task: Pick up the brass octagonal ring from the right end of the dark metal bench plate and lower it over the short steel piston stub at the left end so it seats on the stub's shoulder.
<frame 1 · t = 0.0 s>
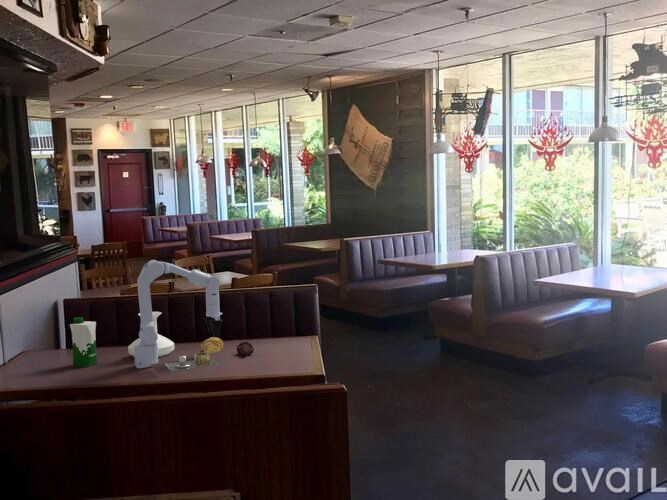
hand: (213, 334, 296), 10 cm above the table, tool pointing down, fingers open, 7 cm apart
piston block: (192, 367, 280), on the table
milk carton: (85, 365, 290), on the table
candle holder: (151, 357, 302), on the table
croissant: (212, 352, 309), on the table
ring: (202, 361, 285), point 1 cm above the table, touching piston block
icecream: (245, 357, 297), on the table
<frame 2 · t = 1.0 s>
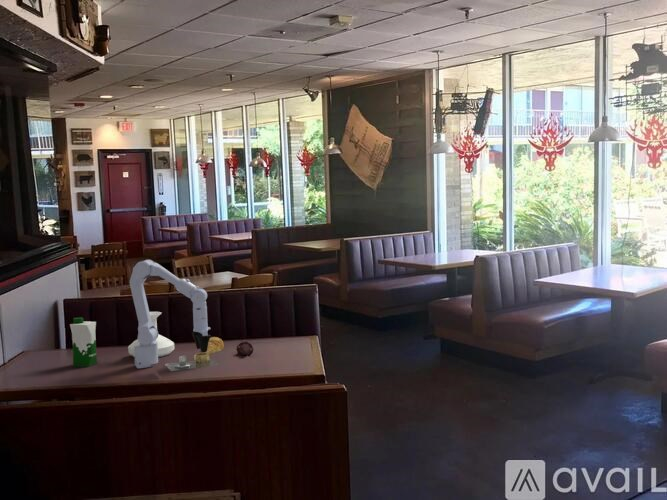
hand: (201, 350, 285), 6 cm above the table, tool pointing down, fingers open, 7 cm apart
nothing on the table moved.
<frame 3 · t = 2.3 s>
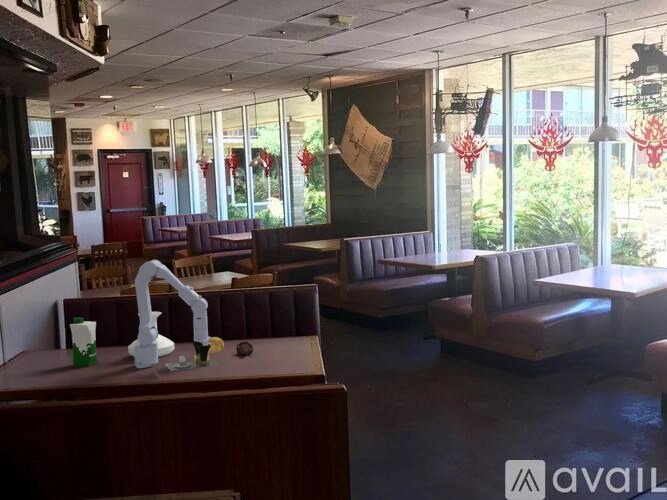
hand: (202, 359, 285), 2 cm above the table, tool pointing down, fingers closed on ring, 6 cm apart
ring: (202, 361, 285), point 1 cm above the table, touching gripper, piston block
everything else where it was.
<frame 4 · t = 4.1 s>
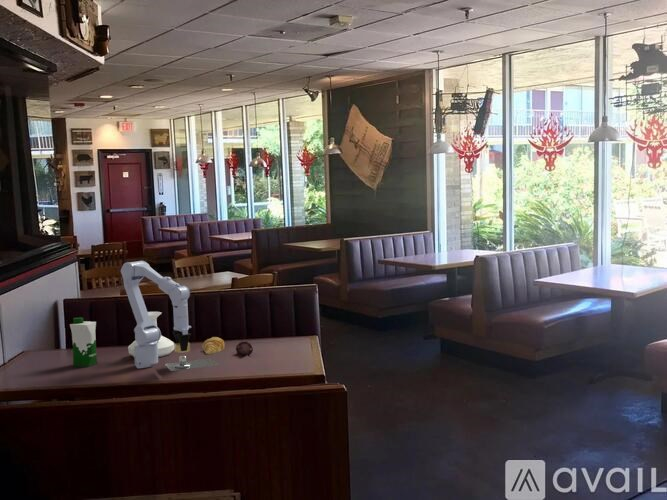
hand: (182, 349, 277), 8 cm above the table, tool pointing down, fingers closed on ring, 6 cm apart
ring: (182, 351, 277), point 7 cm above the table, touching gripper
everything else where it was.
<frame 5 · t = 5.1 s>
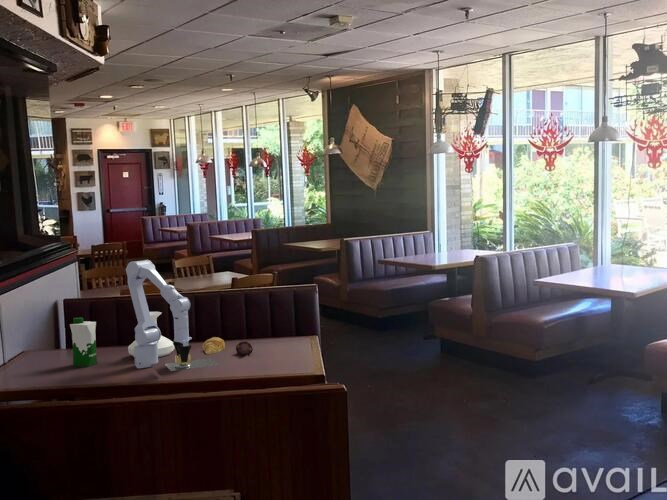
hand: (182, 360, 277), 3 cm above the table, tool pointing down, fingers closed on ring, 6 cm apart
ring: (183, 362, 277), point 3 cm above the table, touching gripper
everything else where it was.
when the fingers open (3 cm above the table, at t = 6.0 s): ring drops 1 cm, resting on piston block.
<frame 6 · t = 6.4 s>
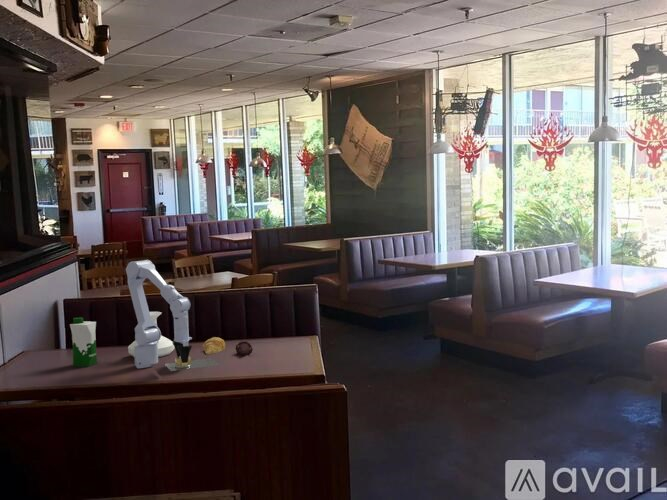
hand: (182, 360, 277), 3 cm above the table, tool pointing down, fingers open, 7 cm apart
ring: (183, 364, 277), point 2 cm above the table, touching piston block
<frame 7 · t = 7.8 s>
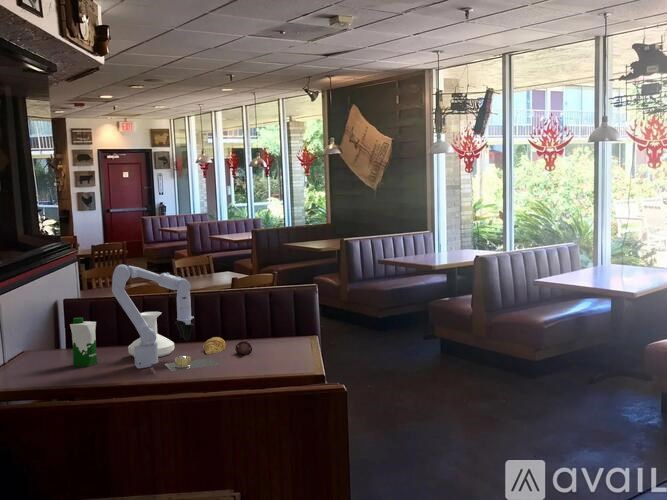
hand: (185, 338, 289), 10 cm above the table, tool pointing down, fingers open, 7 cm apart
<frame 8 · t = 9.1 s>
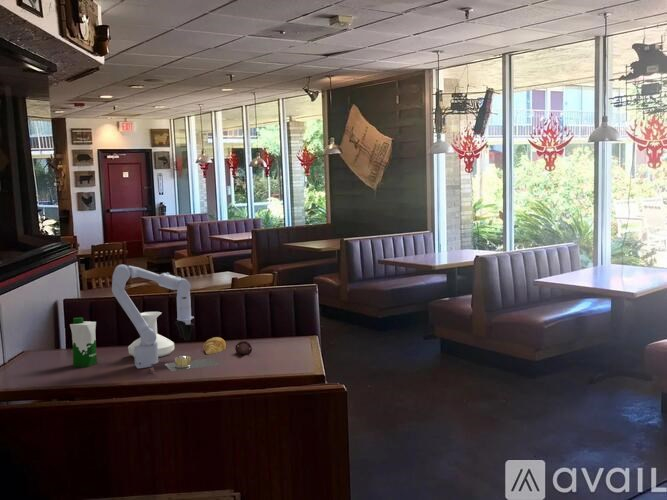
hand: (185, 338, 289), 10 cm above the table, tool pointing down, fingers open, 7 cm apart
at the end: ring 0.1 cm from the target spot on the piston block, point 1.7 cm above the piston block's base; the gripper is holding nothing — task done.
